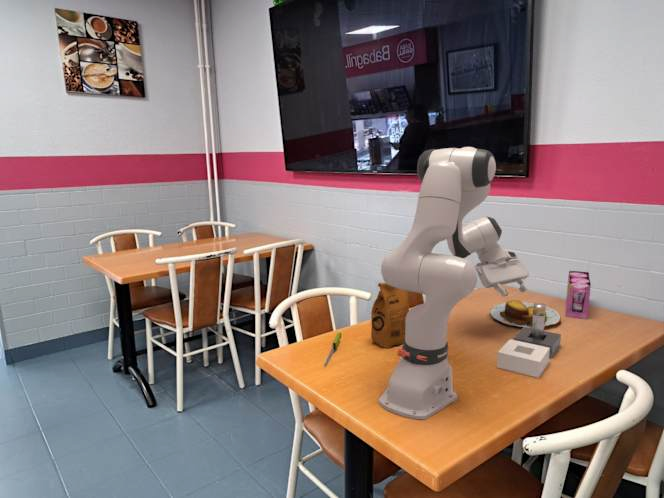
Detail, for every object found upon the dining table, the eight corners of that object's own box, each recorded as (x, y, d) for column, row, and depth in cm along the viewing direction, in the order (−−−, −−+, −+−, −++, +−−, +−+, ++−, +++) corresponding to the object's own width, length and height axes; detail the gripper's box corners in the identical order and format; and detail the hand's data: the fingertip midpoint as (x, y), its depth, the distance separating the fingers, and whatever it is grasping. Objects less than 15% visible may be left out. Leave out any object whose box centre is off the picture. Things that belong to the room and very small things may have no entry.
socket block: (551, 358, 148) (552, 346, 147) (512, 349, 155) (513, 338, 154) (560, 345, 157) (561, 334, 157) (522, 337, 165) (523, 326, 164)
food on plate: (574, 323, 177) (575, 307, 176) (527, 336, 166) (528, 319, 165) (520, 304, 200) (521, 290, 198) (476, 315, 189) (477, 299, 187)
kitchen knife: (326, 373, 144) (326, 364, 143) (322, 372, 144) (322, 364, 143) (341, 339, 165) (341, 331, 164) (338, 339, 165) (338, 331, 164)
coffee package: (367, 341, 164) (366, 280, 160) (393, 332, 171) (394, 274, 167) (385, 350, 156) (385, 287, 152) (412, 341, 163) (413, 280, 159)
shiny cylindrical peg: (541, 350, 154) (544, 307, 151) (529, 348, 156) (532, 305, 153) (543, 346, 157) (547, 304, 154) (532, 344, 159) (535, 302, 156)
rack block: (538, 378, 136) (539, 362, 135) (497, 367, 143) (497, 352, 142) (548, 362, 145) (549, 347, 144) (509, 353, 152) (509, 339, 151)
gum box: (588, 320, 179) (591, 286, 176) (565, 318, 183) (568, 284, 180) (586, 302, 200) (589, 272, 197) (566, 300, 204) (568, 270, 201)
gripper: (478, 259, 160) (499, 293, 154) (519, 252, 170) (540, 284, 164) (468, 269, 165) (488, 302, 159) (508, 261, 175) (529, 293, 168)
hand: (515, 293), depth 161 cm, fingers open, 8 cm apart
